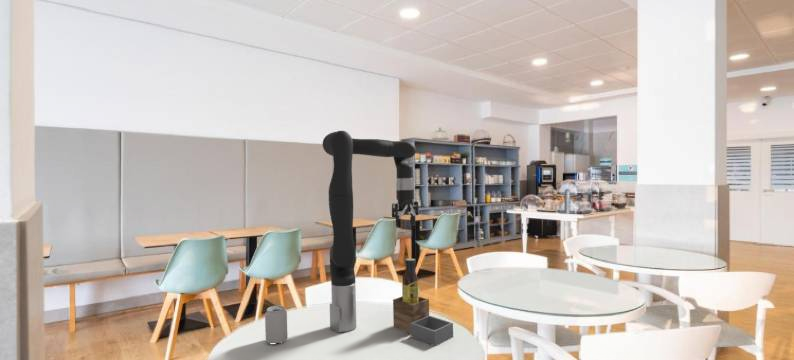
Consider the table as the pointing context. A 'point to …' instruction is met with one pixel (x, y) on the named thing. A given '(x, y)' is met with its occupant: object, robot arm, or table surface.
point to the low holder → (432, 330)
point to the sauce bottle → (410, 283)
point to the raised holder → (409, 312)
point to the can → (276, 324)
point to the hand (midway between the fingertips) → (405, 226)
